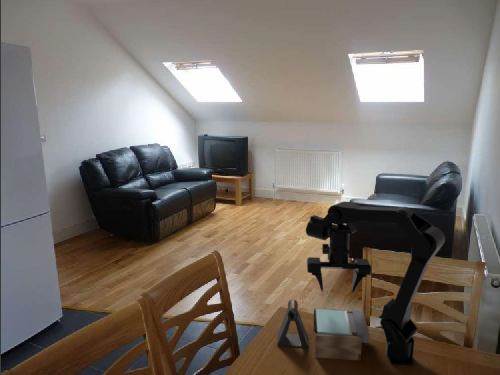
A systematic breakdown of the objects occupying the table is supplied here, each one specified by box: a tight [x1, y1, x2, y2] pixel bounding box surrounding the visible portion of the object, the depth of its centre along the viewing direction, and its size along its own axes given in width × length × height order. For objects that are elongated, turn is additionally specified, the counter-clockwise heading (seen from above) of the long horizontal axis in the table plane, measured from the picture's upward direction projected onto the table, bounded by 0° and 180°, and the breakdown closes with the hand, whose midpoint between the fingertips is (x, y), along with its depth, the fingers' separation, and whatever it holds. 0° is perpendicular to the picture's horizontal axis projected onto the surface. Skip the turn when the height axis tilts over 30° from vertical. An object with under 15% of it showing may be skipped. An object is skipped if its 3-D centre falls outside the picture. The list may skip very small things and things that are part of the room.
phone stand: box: [276, 299, 309, 349], centre depth 116 cm, size 9×6×12 cm, turn 84°
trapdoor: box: [315, 308, 370, 344], centre depth 114 cm, size 14×12×3 cm
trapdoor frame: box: [313, 308, 363, 361], centre depth 115 cm, size 12×14×7 cm
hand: (337, 291), depth 120 cm, fingers open, 9 cm apart
